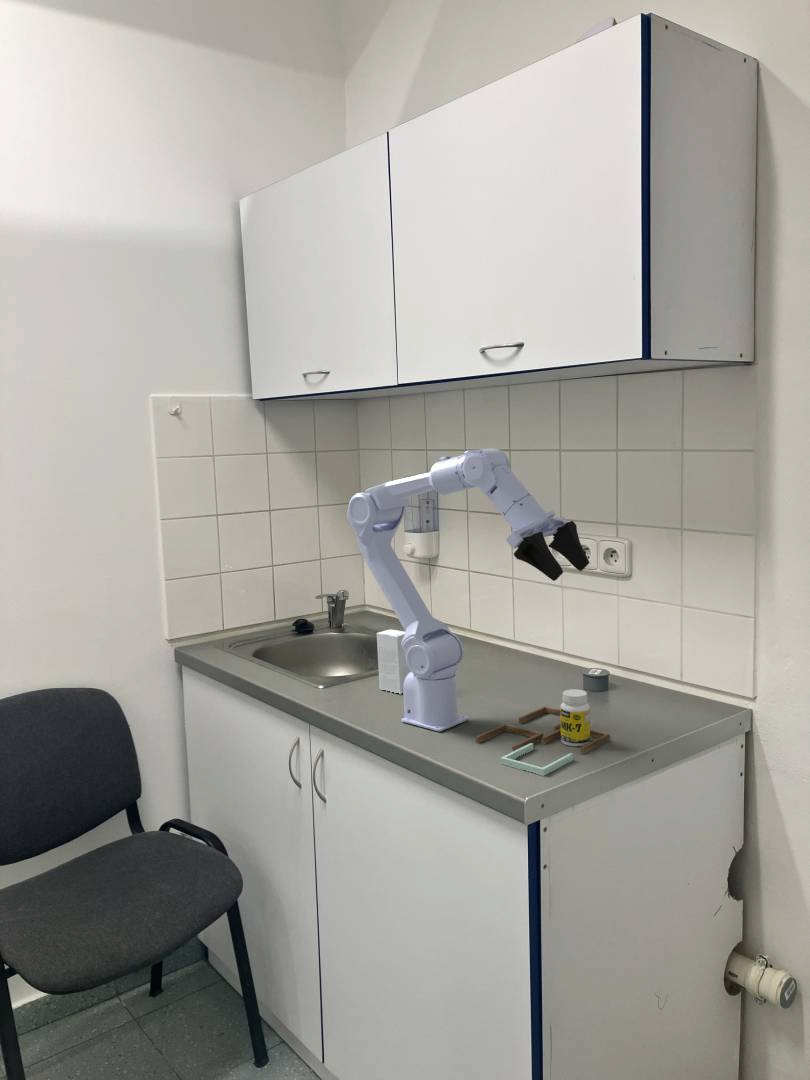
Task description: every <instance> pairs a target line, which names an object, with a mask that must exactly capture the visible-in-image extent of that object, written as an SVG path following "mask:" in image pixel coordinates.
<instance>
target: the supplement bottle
mask: <svg viewBox="0 0 810 1080" xmlns="http://www.w3.org/2000/svg"><path fill="white" fill-rule="evenodd" d="M561 699H562V702H561V704H560V708H559V709H560V714H561V716H560V723H561V736H560V741H561V743H562V744H564V745H566V746H569V747H583V746H585V745H586V744H588V743H590V742H591V737H590V730H591V708H590V704H589V703H588V692H587V691H585V690H582V689H577V688H576V689H566V690H563V691H562V698H561Z"/></svg>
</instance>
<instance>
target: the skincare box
mask: <svg viewBox="0 0 810 1080" xmlns="http://www.w3.org/2000/svg"><path fill="white" fill-rule="evenodd" d="M405 633H406V632H405V630H403V631H402V630H397V629H386V630H383V631H379V632H376V644H377V645H376V646H377V663H378V682H379V683H378V684H379V690H380V689H382V690H386V691H385V692H387V691H390V692H389V693H392V692H394V693H393V694H396V693H399V694H398V695H403V694H402V693H403V685H404V681H405V678H406V676H407V675H408V674H409V673H410V672H411V670H410V669H409V667H408V665H407V661H406V655H405V652H404V650H403V648H402V646H401V643H402V640H403V638H404V635H405ZM382 690H381V691H382Z"/></svg>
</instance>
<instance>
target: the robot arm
mask: <svg viewBox="0 0 810 1080" xmlns="http://www.w3.org/2000/svg"><path fill="white" fill-rule="evenodd" d="M463 453H464V454H461V455H458V456H455V457H452V456H451V455H446V456H442V457H439V460H440V461H436V462H435V463H434V464H433V465H432V466H431V468H430V471H429V472H424V473H421V474H420V473H419V474H417V475H412V476H408V477H404V478H399V479H395V480H391V481H387V482H384V483H382V484H379V485H375V486H373V487H369V488H367V489H366V490H365V492H357V493H355V494H354V495H353V496H352V497H351V498H350V499H349V502H348V508H347V513H346V519H347V521H348V523H349V524H350V527H351V528H352V530H353V532H354V533H355V537H356V542H357V545H358V549H359V552H360V554H361V556H362V558H363V559H364V561H365V562H366V564H367V566H368V568H369V570H370V571H371V574H372V575H373V577H374V579H375V581H376V582H377V584H378V585H379V587H380V589H381V591H382V592H383V595H384V596H385V598H386V600H387V602H388V603H389V605H390V607H391V609H392V610H393V612H394V613H395V615H396V618H397V619H398V621H399V623H400V624H401V626H402V628H403V631H404V632H406V633H405V635H404V638H403V640H402V643H401V646H402V648H403V650H404V652H405V655H406V661H407V665H408V667H409V669H410V670H411V672H410V673H409V674H408V675H407V676H406V678H405V681H404V685H403V694H402V695H403V715H404V717H402V718H401V719H400V720H401V722H402V723H405V724H410V725H414V726H417V727H421V728H423V729H424V728H425V729H429V730H432V731H436V732H442V731H445V730H448V729H450V728H452V727H454V726H457V725H460V724H462V723H463V722H467V721H468V720H469V717H468V716H466V715H461V714H459V713H458V712H459V711H458V691H457V690H458V689H457V688H458V686H457V671H459V668H458V666H459V664H460V663H461V661H462V660H463V658H464V651H465V650H464V646H463V643H462V641H461V639H460V638H459V637H458V636H457V634H455V633H453V632H452V631H451V629H449V627H448V625H447V624H446V623H445V622H443V621H441V620H439V619H438V618H435V617H434V616H433V615H432V614H431V612H430V611H429V609H428V607H427V605H426V604H425V601H424V599H422V597H421V595H420V594H419V591H418V590H417V587H416V586H415V585H414V583H413V581H412V579H411V578H410V576H409V574H408V572H407V571H406V569H405V567H404V566H403V564H402V562H401V561H400V558H399V557H398V555H397V553H396V552H395V550H394V548H393V547H392V541H393V538H394V537H395V536H396V533H397V531H398V528H399V526H400V525H401V523H402V520H403V518H404V516H405V512H406V508H407V507H409V506H410V498H413V497H415V496H418V495H422V494H425V493H428V492H432V491H435V492H437V493H438V494H440V495H448V494H449V495H450V494H454V493H458V492H461V491H462V492H463V491H465V490H469V489H473V488H474V489H475V487H476V488H478V489H479V490H480V491H481V492H482V493H484V494H485V496H486V497H487V499H488V500H489V501H490V502H491V503H492V505H493V506H494V507H495V508H496V509H497V511H498V512H499V513H500V514H501V516H502V517H503V518H504V519H505V520H506V522H507V523H508V524H509V526H511V528H512V529H513V531H511V532H510V533H509V535H508V536H507V537H506V538H505V541H506V542H507V543H508V545H509V546H510V547H511V548H512V549H516V548H517V549H516V550H515V551H514V553H513V556H514V557H515V558H516V560H519V561H522V562H524V563H526V564H528V565H531V566H532V567H533V568H535V569H537V570H538V571H539V572H541V573H542V574H543V575H545V576H546V577H547V578H549V580H551V581H553V582H555V581H557V580H558V579H559V578H560V576H561V575H563V574H564V570H563V568H562V566H561V565H560V563H559V562H558V560H557V559H556V557H555V556H554V555H553V553H552V551H551V549H553V551H555V552H557V553H559V554H560V555H562V556H563V557H564V558H565V559H566V560H567V561H568V562H569V563H570V564H571V565H572V566H573V567H574V568H575V569H576V570H577V571H579V572H582V571H584V570H585V569H586V567H588V565H589V564H590V560H589V558H588V556H587V553H586V552H585V550H584V548H583V545H582V544H581V541H580V537H579V534H578V527H577V524H576V523H575V522H574V521H573V520H570V521H568V520H567V519H566V517H564V516H561V517H559V516H556V513H555V512H554V511H553V510H550V511H546V510H545V509H544V508H543V506H542V505H541V504H540V503H539V502H538V501H537V499H536V498H535V497H534V495H532V494H531V493H530V491H529V490H528V489H527V488H526V486H525V485H524V484H523V482H521V480H520V479H519V477H517V475H516V474H514V471H512V470H511V469H510V461H509V458H508V455H506V453H505V452H503V451H502V450H500V449H497V448H485V449H483V448H482V449H474V450H472V449H470V450H465V451H464V452H463ZM550 536H553V537H552V539H553V540H552V541H551V542H550V543H549V544H547V542H546V539H545V538H546V537H550Z"/></svg>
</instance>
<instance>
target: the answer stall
mask: <svg viewBox="0 0 810 1080" xmlns="http://www.w3.org/2000/svg"><path fill="white" fill-rule="evenodd" d="M533 750H534V744H533V743H530V744H528V745H526V746H524V747H522V748H520V749H518V750H515V751H513V752H512V751H511V752H510V753H508V754H506V755H504V756H501V757H500V764H501V765H503V766H508V767H510V768H514V769H518V770H521V769H522V770H521V771H524V770H526V771H525V772H528V771H530V772H529V773H531V772H533V773H532V774H535V773H536V775H538V774H539V775H540V776H543V777H544V776H546V775H549V774H550V773H552V772H553V771H556V770H557V769H559V768H561V767H563V766H564V765H566V764H568V763H570V762H572V761H574V754H573V753H571V752H568V754H566V755H564V756H562V757H560V758H559V759H556V760H555V761H553V762H551V763H549V764H547V765H545V766H543V767H542V766H537V765H535V764H530V763H528V762H522V761H519V760H516V759H518V758H519V756H520V757H522V756H523V754H524V755H525V753H526V754H528V753H529V752H532V751H533ZM521 755H522V756H521ZM517 757H518V758H517ZM539 775H538V776H539Z"/></svg>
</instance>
